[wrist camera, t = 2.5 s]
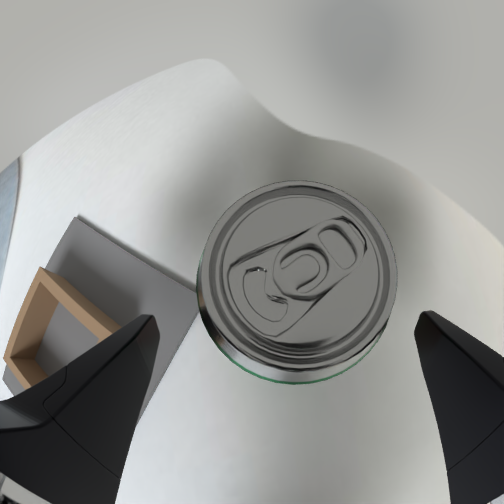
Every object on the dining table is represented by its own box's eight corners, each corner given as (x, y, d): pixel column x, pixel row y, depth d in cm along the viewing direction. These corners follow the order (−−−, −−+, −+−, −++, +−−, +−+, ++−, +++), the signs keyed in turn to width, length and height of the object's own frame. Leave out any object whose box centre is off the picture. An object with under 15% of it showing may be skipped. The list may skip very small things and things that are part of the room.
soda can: (227, 309, 17) (147, 236, 6) (294, 267, 18) (322, 138, 7) (270, 376, 16) (264, 437, 5) (338, 331, 16) (448, 295, 5)
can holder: (104, 486, 13) (81, 500, 10) (5, 379, 16) (-20, 377, 13) (206, 298, 18) (191, 287, 15) (77, 218, 21) (54, 200, 18)
